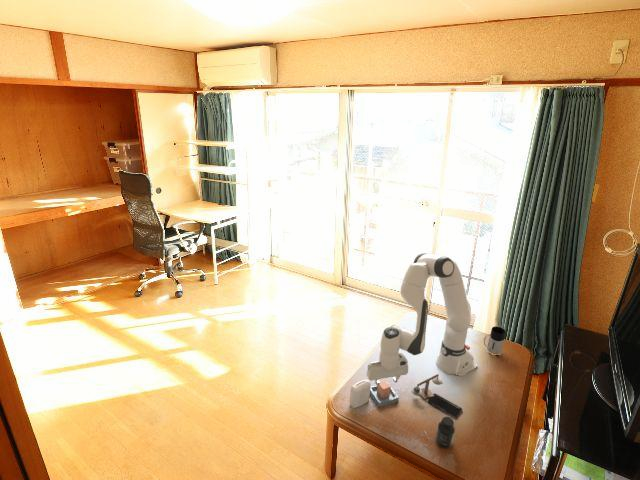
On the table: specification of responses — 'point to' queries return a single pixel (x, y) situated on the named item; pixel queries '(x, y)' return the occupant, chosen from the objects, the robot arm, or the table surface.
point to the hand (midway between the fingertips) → (386, 383)
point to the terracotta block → (383, 389)
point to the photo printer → (360, 393)
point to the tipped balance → (426, 387)
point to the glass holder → (495, 340)
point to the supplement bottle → (445, 432)
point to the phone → (445, 406)
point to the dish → (384, 401)
